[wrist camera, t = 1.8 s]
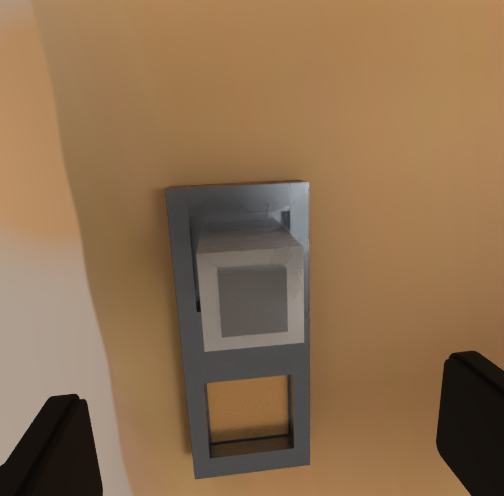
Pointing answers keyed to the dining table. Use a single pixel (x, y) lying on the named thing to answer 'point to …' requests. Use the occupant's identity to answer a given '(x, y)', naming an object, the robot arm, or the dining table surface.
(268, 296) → the block
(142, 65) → the dining table surface
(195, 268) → the rail
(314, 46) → the dining table surface
